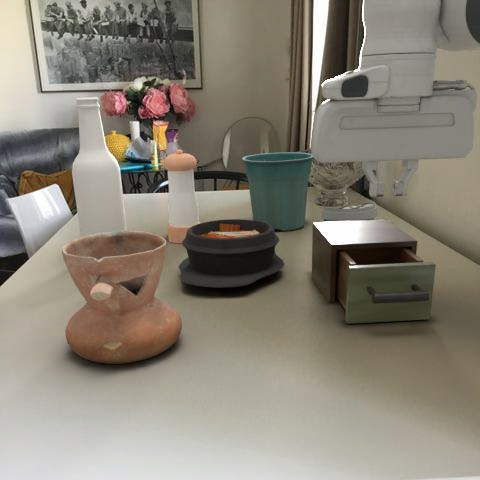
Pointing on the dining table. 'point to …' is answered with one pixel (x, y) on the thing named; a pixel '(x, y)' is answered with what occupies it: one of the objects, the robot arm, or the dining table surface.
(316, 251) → the cabinet
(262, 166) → the flower pot
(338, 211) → the food container
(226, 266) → the casserole
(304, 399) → the dining table surface
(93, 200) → the alcohol
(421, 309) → the drawer
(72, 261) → the ceramic jug
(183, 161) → the salt shaker
